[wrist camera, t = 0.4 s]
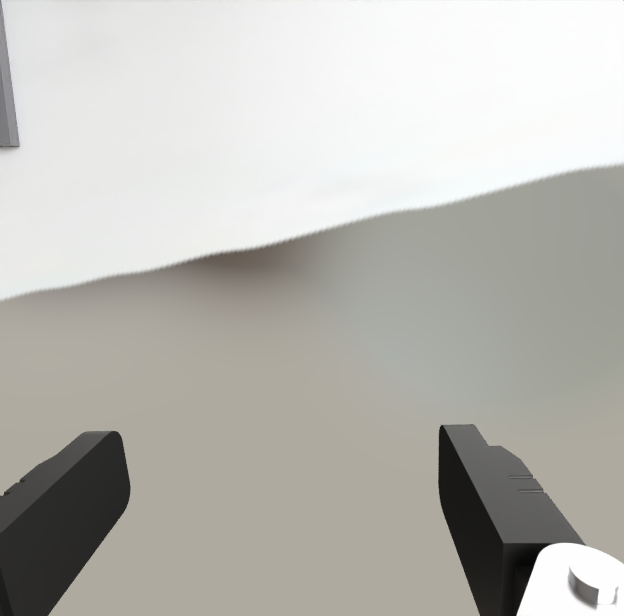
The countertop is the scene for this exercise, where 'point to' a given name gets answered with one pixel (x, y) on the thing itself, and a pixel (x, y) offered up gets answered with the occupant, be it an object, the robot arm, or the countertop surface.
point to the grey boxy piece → (6, 95)
